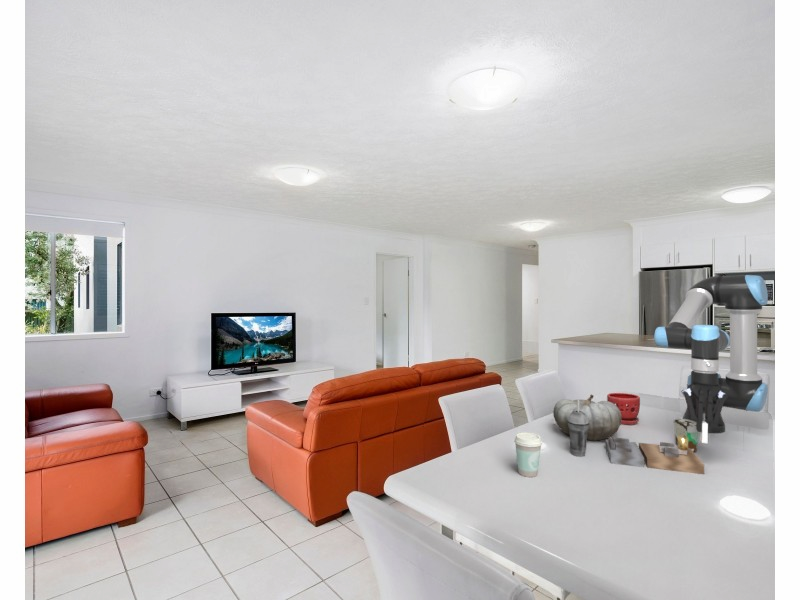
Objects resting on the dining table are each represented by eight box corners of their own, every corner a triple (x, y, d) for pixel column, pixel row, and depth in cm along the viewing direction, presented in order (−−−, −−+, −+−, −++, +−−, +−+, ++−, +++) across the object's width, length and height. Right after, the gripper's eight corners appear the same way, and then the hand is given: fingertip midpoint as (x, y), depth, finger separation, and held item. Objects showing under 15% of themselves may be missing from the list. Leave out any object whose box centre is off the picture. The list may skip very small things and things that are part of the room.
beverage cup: (589, 452, 158) (589, 397, 157) (588, 459, 151) (589, 402, 151) (568, 449, 161) (568, 395, 161) (566, 456, 154) (566, 399, 154)
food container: (707, 456, 154) (707, 428, 154) (687, 454, 156) (688, 426, 155) (691, 444, 166) (691, 418, 166) (673, 443, 168) (673, 417, 167)
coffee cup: (527, 481, 134) (527, 442, 134) (508, 471, 142) (508, 434, 141) (547, 475, 138) (548, 438, 138) (528, 466, 146) (528, 430, 145)
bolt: (686, 452, 149) (686, 436, 149) (689, 455, 146) (689, 439, 146) (658, 449, 152) (658, 433, 151) (660, 452, 149) (660, 436, 149)
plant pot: (640, 420, 197) (641, 394, 197) (638, 428, 186) (638, 400, 186) (609, 416, 204) (609, 390, 204) (605, 423, 193) (605, 396, 193)
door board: (689, 456, 154) (689, 441, 154) (704, 474, 139) (704, 457, 139) (605, 447, 163) (605, 432, 163) (610, 463, 148) (610, 447, 148)
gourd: (615, 445, 158) (608, 396, 160) (547, 442, 172) (542, 397, 175) (629, 434, 177) (623, 391, 180) (567, 433, 192) (562, 393, 195)
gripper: (685, 371, 144) (684, 443, 144) (732, 374, 140) (731, 448, 140) (678, 368, 151) (677, 436, 151) (723, 370, 147) (722, 440, 147)
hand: (703, 441), depth 146 cm, fingers closed
